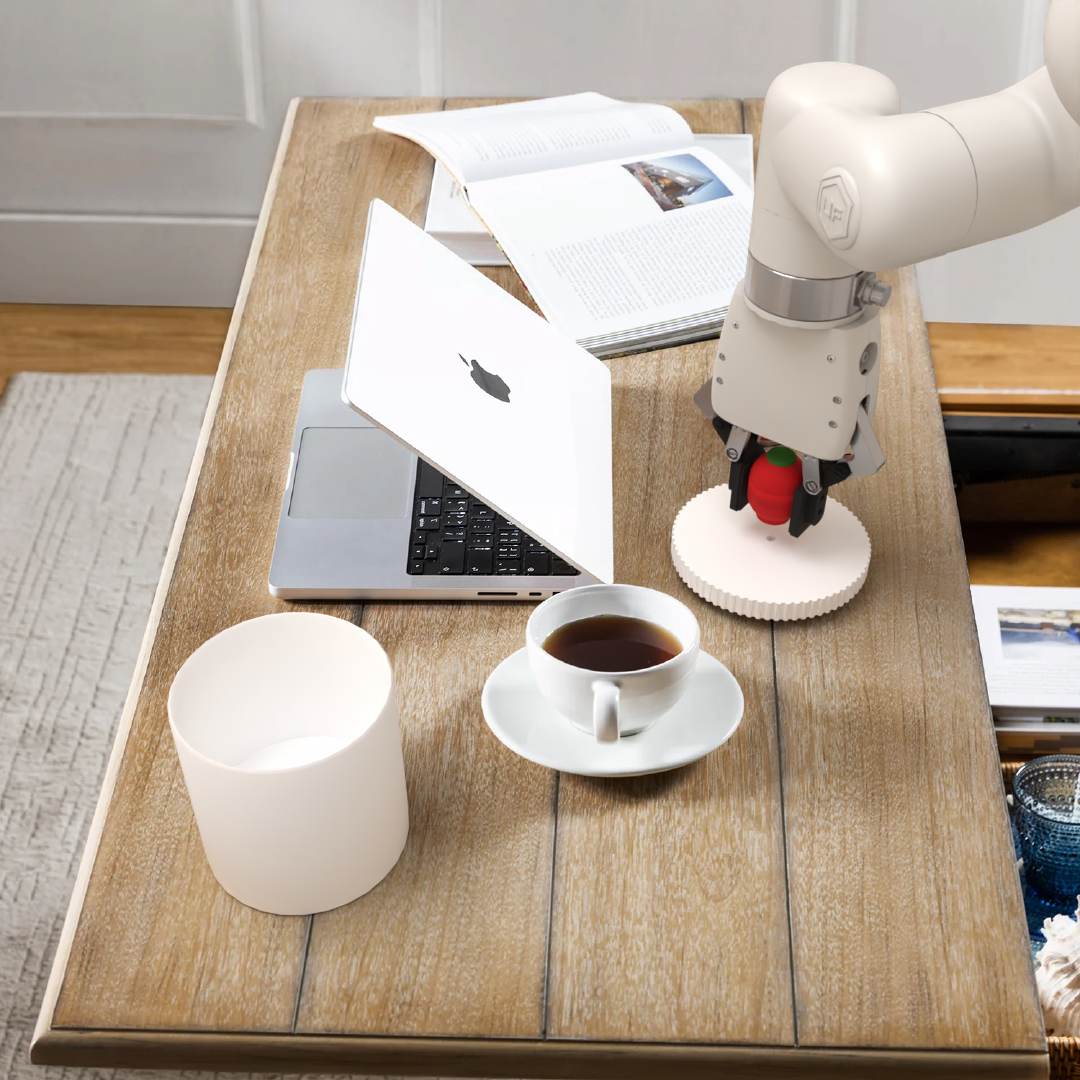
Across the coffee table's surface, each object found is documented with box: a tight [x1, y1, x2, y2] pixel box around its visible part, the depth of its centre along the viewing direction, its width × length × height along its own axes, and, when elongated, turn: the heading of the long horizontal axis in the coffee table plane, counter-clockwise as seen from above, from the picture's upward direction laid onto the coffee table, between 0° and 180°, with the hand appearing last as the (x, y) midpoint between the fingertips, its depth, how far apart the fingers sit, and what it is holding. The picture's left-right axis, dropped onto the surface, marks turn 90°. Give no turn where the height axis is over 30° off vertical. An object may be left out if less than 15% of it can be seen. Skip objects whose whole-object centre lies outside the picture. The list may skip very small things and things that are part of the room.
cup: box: [166, 611, 410, 916], centre depth 70 cm, size 12×12×12 cm
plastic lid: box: [670, 482, 872, 622], centre depth 92 cm, size 14×14×2 cm
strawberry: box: [747, 446, 803, 525], centre depth 88 cm, size 4×4×5 cm
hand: (773, 511), depth 89 cm, fingers closed on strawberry, 4 cm apart
